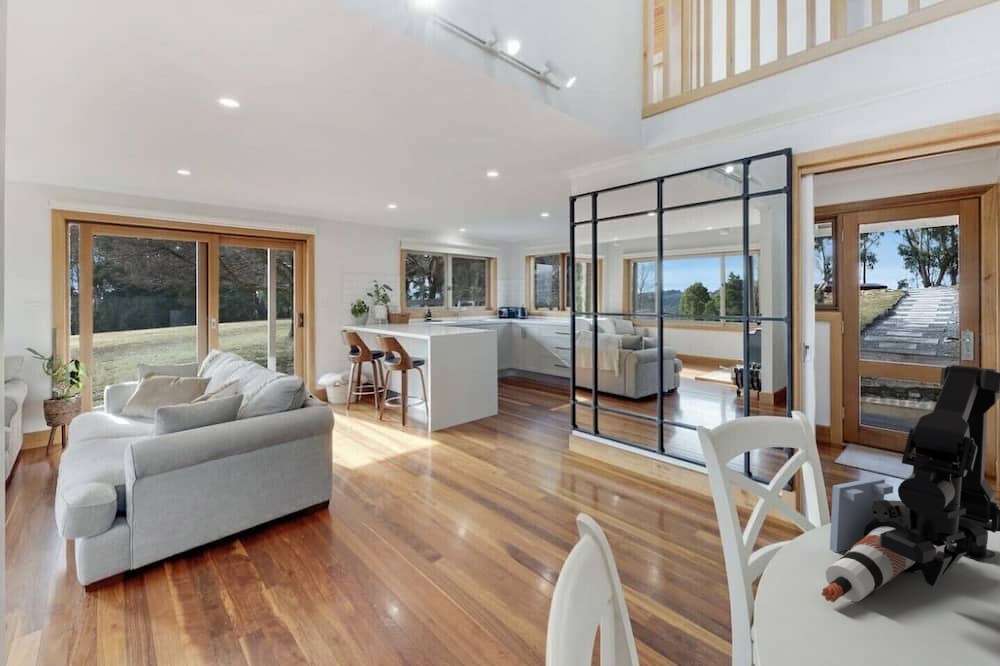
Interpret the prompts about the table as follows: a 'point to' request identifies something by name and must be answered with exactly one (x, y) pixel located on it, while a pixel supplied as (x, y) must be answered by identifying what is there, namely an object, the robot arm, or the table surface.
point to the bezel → (854, 510)
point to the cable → (867, 565)
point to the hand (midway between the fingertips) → (930, 584)
